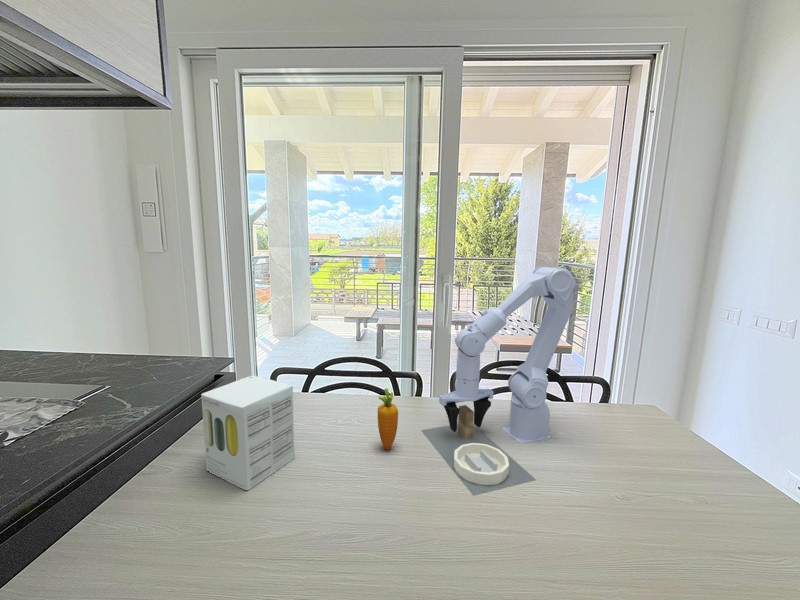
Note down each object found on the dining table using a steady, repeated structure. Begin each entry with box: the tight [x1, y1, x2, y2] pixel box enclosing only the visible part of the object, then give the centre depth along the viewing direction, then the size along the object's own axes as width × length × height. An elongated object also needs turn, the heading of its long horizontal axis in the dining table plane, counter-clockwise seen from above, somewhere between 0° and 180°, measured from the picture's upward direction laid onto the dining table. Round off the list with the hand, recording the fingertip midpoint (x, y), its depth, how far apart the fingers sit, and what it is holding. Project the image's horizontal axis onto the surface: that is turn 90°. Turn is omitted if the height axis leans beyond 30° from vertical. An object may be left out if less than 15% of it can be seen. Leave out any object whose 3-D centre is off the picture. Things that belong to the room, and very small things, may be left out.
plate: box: [454, 443, 509, 486], centre depth 76 cm, size 11×11×2 cm
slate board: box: [420, 423, 537, 497], centre depth 82 cm, size 15×26×1 cm, turn 19°
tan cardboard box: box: [457, 404, 474, 439], centre depth 89 cm, size 2×4×7 cm, turn 20°
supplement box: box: [200, 374, 296, 491], centre depth 75 cm, size 13×13×18 cm
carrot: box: [377, 387, 399, 451], centre depth 82 cm, size 5×5×15 cm
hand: (465, 427), depth 89 cm, fingers open, 6 cm apart
